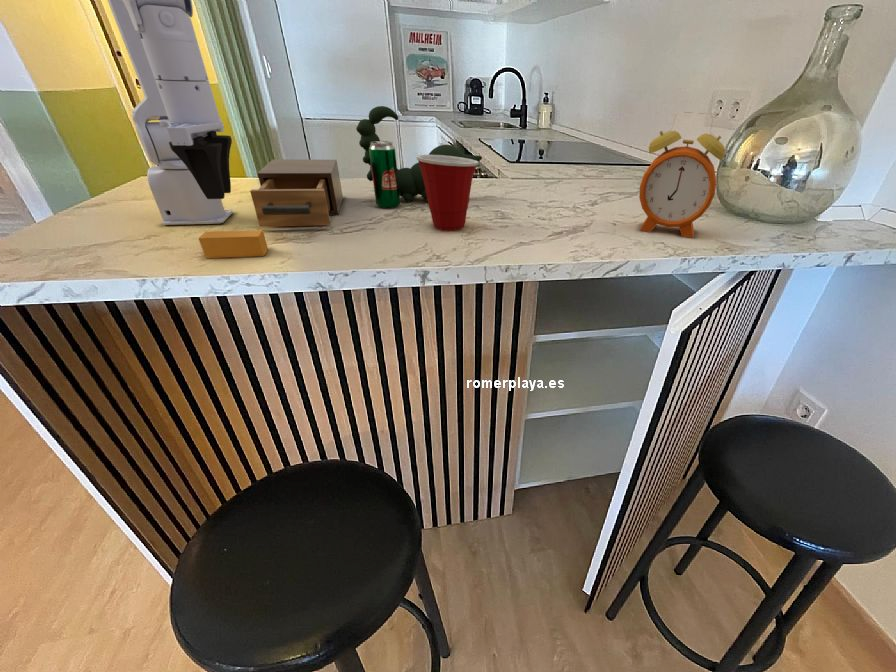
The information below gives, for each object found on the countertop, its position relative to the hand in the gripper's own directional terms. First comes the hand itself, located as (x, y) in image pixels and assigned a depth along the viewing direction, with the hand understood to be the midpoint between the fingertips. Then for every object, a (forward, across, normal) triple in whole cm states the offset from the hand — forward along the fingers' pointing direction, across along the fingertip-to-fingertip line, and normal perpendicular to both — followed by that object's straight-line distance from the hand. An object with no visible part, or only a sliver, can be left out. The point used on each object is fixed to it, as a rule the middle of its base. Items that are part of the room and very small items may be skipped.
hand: (219, 195), depth 63 cm
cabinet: (+8, -28, +7) cm, 30 cm away
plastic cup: (+9, -11, +34) cm, 37 cm away
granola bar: (+8, 0, 0) cm, 8 cm away
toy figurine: (+9, -32, +31) cm, 46 cm away
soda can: (+9, -27, +23) cm, 36 cm away
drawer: (+7, -15, +7) cm, 18 cm away
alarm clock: (+9, -4, +76) cm, 77 cm away
